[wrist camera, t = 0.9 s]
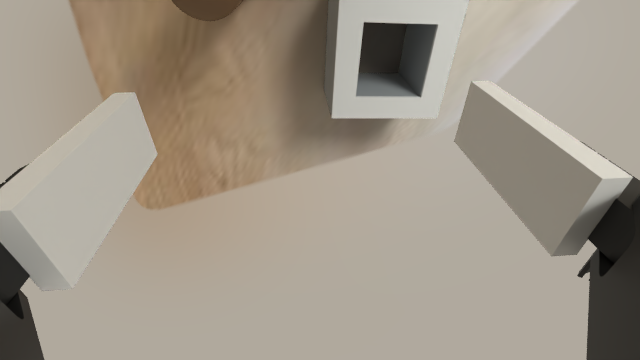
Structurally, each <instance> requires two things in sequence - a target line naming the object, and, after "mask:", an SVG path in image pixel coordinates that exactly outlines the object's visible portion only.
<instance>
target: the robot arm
mask: <svg viewBox="0 0 640 360" xmlns="http://www.w3.org/2000/svg"><path fill="white" fill-rule="evenodd" d="M454 142H455V143H456V144H457V145H458V146H459V147H460V149H461V150H462V151H463V152H464V153H465V155H466V156H467V157H468V158H469V159H470V161H471V162H472V163H473V164H474V165H475V166H476V168H477V169H478V170H479V171H480V172H481V173H482V175H483V176H484V177H485V178H486V179H487V181H488V182H489V183H490V184H491V185H492V187H493V188H494V189H495V190H496V191H497V193H498V194H499V195H500V196H501V197H502V198H503V200H504V201H505V202H506V203H507V204H508V206H509V207H510V208H511V209H512V210H513V211H514V213H515V214H516V215H517V216H518V217H519V219H520V220H521V221H522V222H523V223H524V224H525V226H526V227H527V228H528V229H529V230H530V231H531V233H532V234H533V235H534V236H535V237H536V239H537V240H538V241H539V242H540V243H541V245H542V246H543V247H544V248H545V249H546V250H547V252H548V253H549V254H550V255H551V256H561V255H562V256H563V255H577V253H578V252H579V251H580V249H581V248H582V247H583V245H584V244H585V243H586V241H587V240H588V239H589V240H590V241H591V242H592V243H593V244H594V245H595V246H596V247H597V250H596V251H595V252H594V253H593V255H592V256H591V257H590V259H589V260H588V261H587V262H586V264H585V265H584V266H583V268H582V269H581V270H580V271H579V274H578V276H579V277H581V278H582V277H583V276H584V274H585V273H588V272H590V279H589V281H590V287H589V289H590V290H589V313H588V338H587V360H640V180H638V179H637V178H635V177H634V176H632V175H631V174H629V173H628V172H626V171H625V170H623V169H621V168H620V167H619V166H617V165H616V164H614V163H612V162H611V161H609V160H607V159H606V158H605V157H604V156H602V155H601V154H599V153H596V151H595V150H593V149H592V148H590V147H589V146H587V145H586V144H584V143H583V142H581V141H578V140H577V139H575V138H574V137H572V136H571V135H570V134H568V133H567V132H565V131H563V130H562V129H560V128H559V127H558V126H556V125H555V124H553V123H552V122H550V121H549V120H547V119H546V118H544V117H543V116H541V115H540V114H538V113H537V112H535V111H534V110H532V109H531V108H529V107H528V106H526V105H525V104H523V103H522V102H520V101H519V100H517V99H516V98H514V97H513V96H511V95H510V94H508V93H507V92H506V91H504V90H503V89H501V88H500V87H498V86H497V85H495V84H494V83H492V82H491V81H471V84H470V88H469V91H468V95H467V98H466V102H465V105H464V109H463V112H462V116H461V119H460V123H459V126H458V130H457V133H456V137H455V140H454ZM157 155H158V154H157V151H156V148H155V146H154V143H153V140H152V138H151V135H150V132H149V129H148V127H147V124H146V121H145V118H144V116H143V113H142V110H141V108H140V105H139V102H138V99H137V97H136V94H135V92H126V93H113V94H112V95H111V96H110V97H108V98H107V99H106V100H105V101H104V102H102V103H101V104H100V105H99V106H98V107H97V108H95V109H94V110H93V111H92V112H91V113H90V114H88V115H87V116H86V117H85V118H83V119H82V120H81V121H80V122H79V123H77V124H76V125H75V126H74V127H73V128H72V129H70V130H69V131H68V132H67V133H66V134H64V135H63V136H62V137H61V138H60V139H58V140H57V141H56V142H55V143H54V144H53V145H51V146H50V147H49V148H48V149H47V150H45V151H44V152H43V153H42V154H41V155H39V156H38V157H37V158H36V159H35V160H33V161H32V162H31V163H30V164H28V165H26V166H24V167H22V168H20V169H19V170H17V171H16V172H15V173H14V174H12V175H11V176H10V177H9V178H8V179H6V180H5V181H6V182H5V183H2V184H0V360H44V357H43V353H42V350H41V346H40V342H39V339H38V336H37V331H36V328H35V324H34V321H33V317H32V313H31V310H30V306H29V302H28V299H27V297H26V296H25V295H24V294H23V292H22V291H21V290H20V288H21V287H22V285H23V284H24V283H25V282H26V280H27V279H28V278H29V277H30V278H31V279H32V280H33V281H34V283H35V284H36V285H37V286H38V287H39V288H40V289H41V290H42V291H51V290H66V289H73V288H74V286H75V285H76V283H77V282H78V280H79V278H80V277H81V275H82V274H83V272H84V271H85V269H86V267H87V266H88V264H89V263H90V261H91V260H92V258H93V256H94V255H95V253H96V252H97V250H98V248H99V247H100V245H101V244H102V242H103V240H104V239H105V237H106V236H107V234H108V232H109V231H110V229H111V228H112V226H113V224H114V223H115V221H116V220H117V218H118V217H119V215H120V213H121V212H122V210H123V209H124V207H125V205H126V204H127V202H128V201H129V199H130V197H131V196H132V194H133V193H134V191H135V190H136V188H137V186H138V185H139V183H140V182H141V180H142V178H143V177H144V175H145V174H146V172H147V171H148V169H149V167H150V166H151V164H152V163H153V161H154V159H155V158H156V156H157Z"/></svg>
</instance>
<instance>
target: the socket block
mask: <svg viewBox="0 0 640 360" xmlns="http://www.w3.org/2000/svg"><path fill="white" fill-rule="evenodd" d="M468 3H469V0H328V18H327V39H326V60H325V82H324V92H325V96H326V99H327V103H328V106H329V110H330V114H331V117H332V118H437V117H438V113H439V109H440V106H441V102H442V98H443V95H444V91H445V87H446V84H447V80H448V76H449V73H450V69H451V65H452V62H453V58H454V54H455V51H456V47H457V43H458V40H459V36H460V32H461V29H462V25H463V21H464V18H465V14H466V10H467V7H468ZM364 22H373V23H407V26H406V32H405V37H404V43H403V48H402V54H401V59H400V65H399V71H398V73H358V71H359V62H360V53H361V43H362V34H363V25H364Z"/></svg>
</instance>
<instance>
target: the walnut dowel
mask: <svg viewBox="0 0 640 360" xmlns="http://www.w3.org/2000/svg"><path fill="white" fill-rule="evenodd" d="M242 1H243V0H172V2H173V3H174V4H175V5H176V6H177V7H178V8H179V9H180V10H182V11H183V12H184V13H186V14H187V15H189V16H191V17H193V18H196V19H199V20H204V21H215V20H219V19H222V18H224V17H226V16H228V15H229V14H230V13H231V12H232V11H233V10H234V9H235V8H236V7H237V6H238V5H239V4H240V3H241V2H242Z"/></svg>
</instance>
